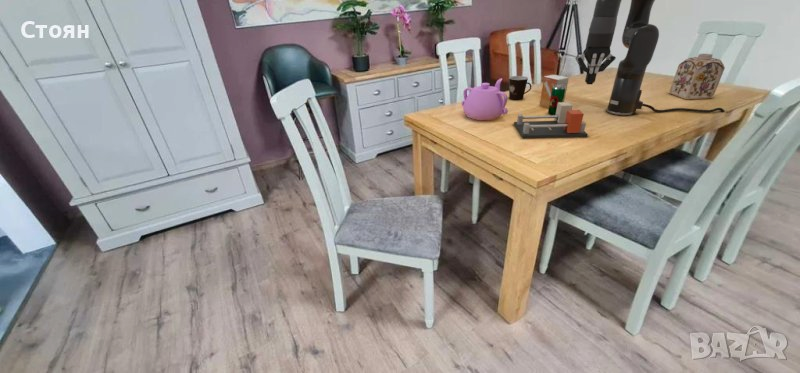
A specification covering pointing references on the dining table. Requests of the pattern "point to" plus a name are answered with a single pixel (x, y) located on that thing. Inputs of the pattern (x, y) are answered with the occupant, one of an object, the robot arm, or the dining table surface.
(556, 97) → the soda can
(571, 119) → the terracotta marker
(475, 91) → the teapot
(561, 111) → the ivory marker
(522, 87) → the coffee mug
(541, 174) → the dining table surface
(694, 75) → the decorative jar
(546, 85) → the small box
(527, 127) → the score rack
